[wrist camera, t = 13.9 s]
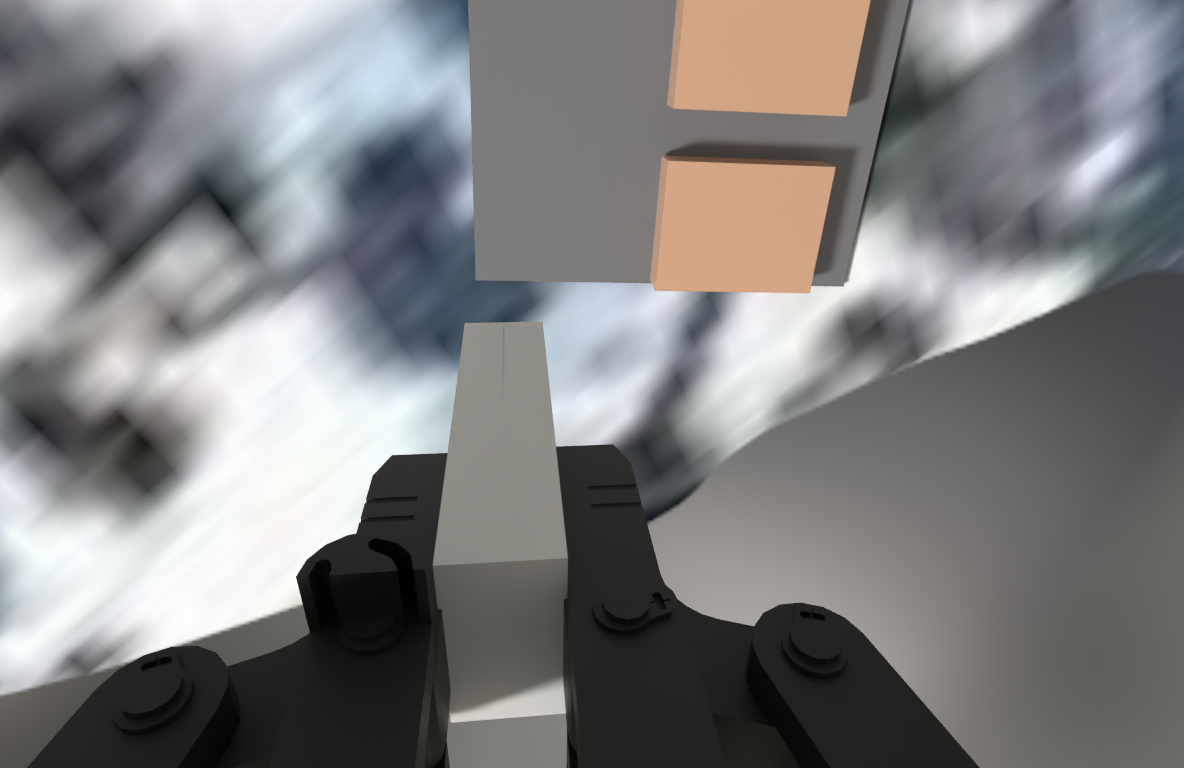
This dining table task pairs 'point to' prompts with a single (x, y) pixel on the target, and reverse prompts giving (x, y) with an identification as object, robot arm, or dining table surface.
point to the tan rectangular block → (766, 55)
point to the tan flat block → (739, 224)
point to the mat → (630, 136)
